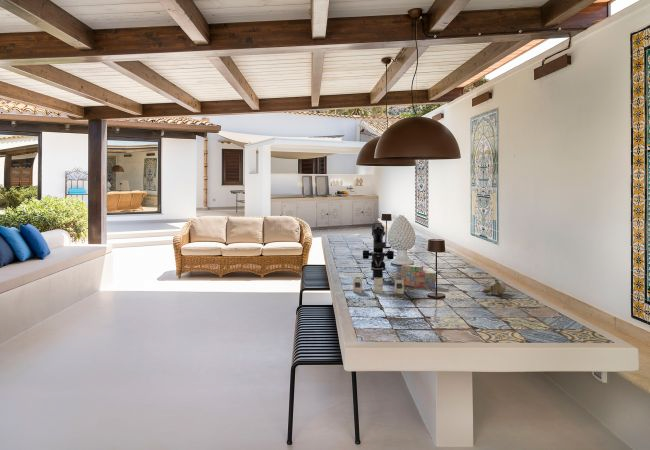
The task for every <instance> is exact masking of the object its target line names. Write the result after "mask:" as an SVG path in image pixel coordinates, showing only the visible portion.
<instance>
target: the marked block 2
mask: <svg viewBox="0 0 650 450" xmlns="http://www.w3.org/2000/svg"><path fill="white" fill-rule="evenodd" d="M404 291H405V285H404V279H403V278H401V277H394V294H395V295H396V294H398V295H402V294H404V293H405V292H404Z"/></svg>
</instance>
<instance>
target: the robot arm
mask: <svg viewBox="0 0 650 450" xmlns="http://www.w3.org/2000/svg"><path fill="white" fill-rule="evenodd" d="M385 235H386V231H385V226H384V225H383V223H381V222H375V223H374V225H373V226H372V227H371V236H372V239H373V243H372V244H373V245H372V246H373V247H372V248H373V251H371V252H370V250H368V249H366V250H365V249H364V250H362V259H363V260H369V259H370V257H371V260H372V261H371V262H370V263H371V264H370V266H371V267H370V271H372V277H371V278H370V279H371V280H373V281H374V278H383V280H385V278H384V277H383V276H384V273H383V272H384V271H386V263H385V261H384V260H385V257H386V259H387V260H394V257H395V256H394V255H395V251H394V250H386V252H384V249H385V248H386V246H387V245H386V244H387V243H386V242H385V241H384V240H383V238H384V237H385Z"/></svg>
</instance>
